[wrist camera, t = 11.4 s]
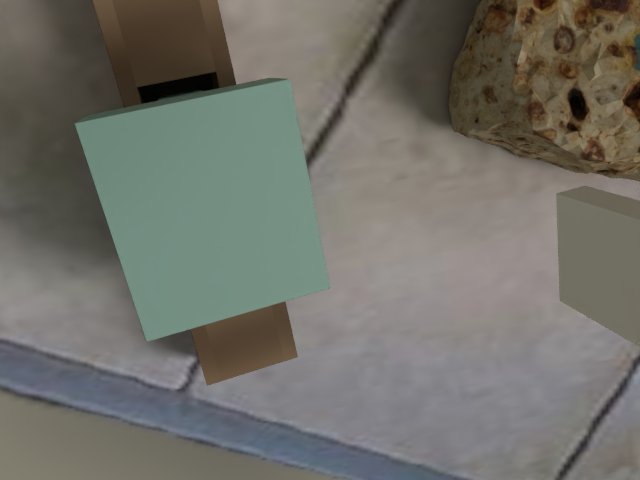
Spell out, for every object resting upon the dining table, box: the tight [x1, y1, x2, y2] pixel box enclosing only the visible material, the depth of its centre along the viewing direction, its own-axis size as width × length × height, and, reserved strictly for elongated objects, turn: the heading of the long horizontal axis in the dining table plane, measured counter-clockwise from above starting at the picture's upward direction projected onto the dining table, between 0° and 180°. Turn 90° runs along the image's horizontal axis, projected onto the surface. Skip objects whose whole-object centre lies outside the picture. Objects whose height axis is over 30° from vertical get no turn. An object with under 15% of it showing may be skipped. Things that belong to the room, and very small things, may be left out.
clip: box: [75, 78, 330, 342], centre depth 25 cm, size 9×8×8 cm
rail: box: [93, 0, 298, 386], centre depth 27 cm, size 20×5×3 cm, turn 11°
